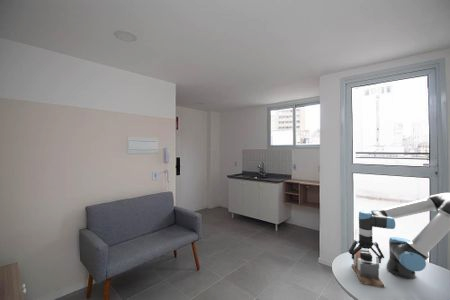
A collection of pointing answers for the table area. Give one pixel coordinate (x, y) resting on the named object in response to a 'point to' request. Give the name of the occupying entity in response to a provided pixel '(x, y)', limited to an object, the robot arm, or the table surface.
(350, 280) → the table surface
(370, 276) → the bookend
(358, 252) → the books
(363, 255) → the container
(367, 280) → the shelf
